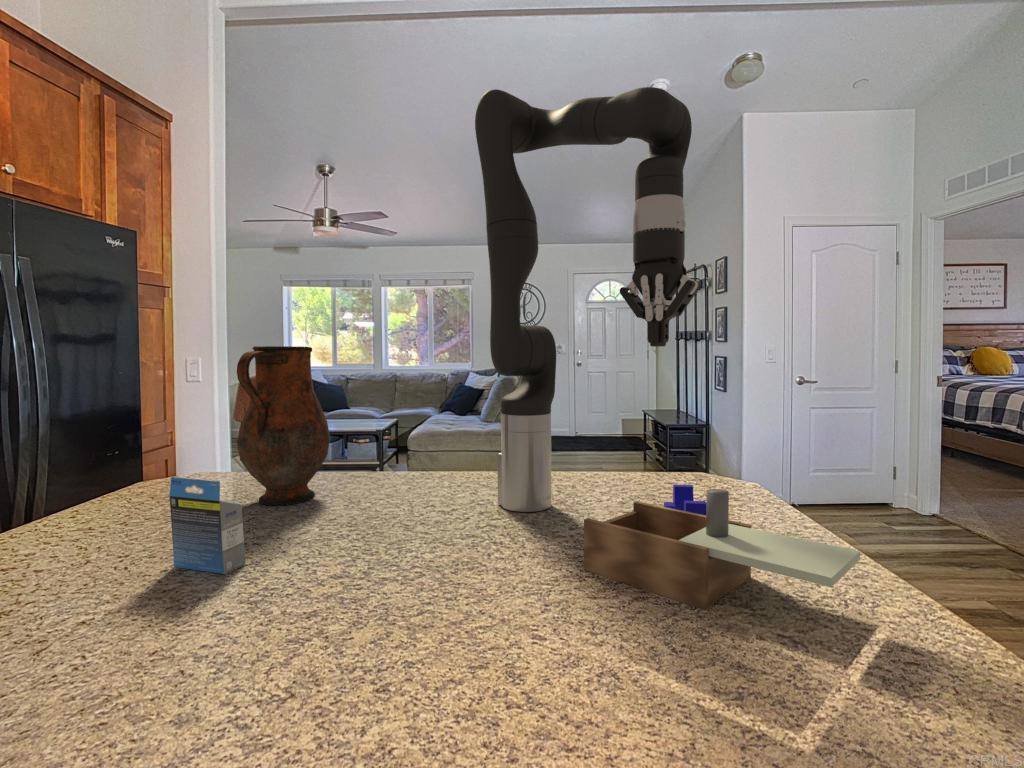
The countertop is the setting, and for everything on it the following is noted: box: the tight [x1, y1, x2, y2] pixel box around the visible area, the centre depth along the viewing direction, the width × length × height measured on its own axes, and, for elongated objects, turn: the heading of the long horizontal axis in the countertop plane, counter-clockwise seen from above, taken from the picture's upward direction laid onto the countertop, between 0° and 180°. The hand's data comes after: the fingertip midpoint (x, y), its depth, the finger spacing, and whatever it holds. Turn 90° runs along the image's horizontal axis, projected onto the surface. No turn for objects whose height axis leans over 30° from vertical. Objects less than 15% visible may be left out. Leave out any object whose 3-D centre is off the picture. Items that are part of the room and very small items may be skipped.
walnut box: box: [583, 501, 752, 611], centre depth 70 cm, size 16×12×7 cm
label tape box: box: [169, 475, 246, 575], centre depth 75 cm, size 9×4×12 cm, turn 71°
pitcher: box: [236, 345, 331, 506], centre depth 108 cm, size 17×21×30 cm
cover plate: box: [679, 488, 861, 588], centre depth 61 cm, size 15×10×6 cm, turn 45°
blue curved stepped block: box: [663, 484, 706, 515], centre depth 89 cm, size 12×4×6 cm, turn 173°
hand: (658, 346), depth 86 cm, fingers closed
